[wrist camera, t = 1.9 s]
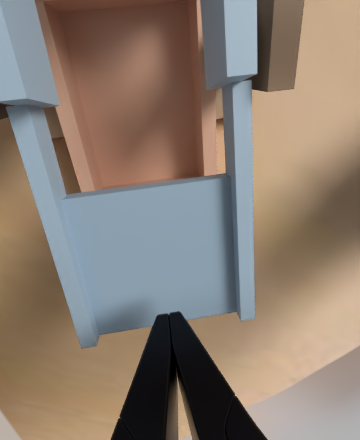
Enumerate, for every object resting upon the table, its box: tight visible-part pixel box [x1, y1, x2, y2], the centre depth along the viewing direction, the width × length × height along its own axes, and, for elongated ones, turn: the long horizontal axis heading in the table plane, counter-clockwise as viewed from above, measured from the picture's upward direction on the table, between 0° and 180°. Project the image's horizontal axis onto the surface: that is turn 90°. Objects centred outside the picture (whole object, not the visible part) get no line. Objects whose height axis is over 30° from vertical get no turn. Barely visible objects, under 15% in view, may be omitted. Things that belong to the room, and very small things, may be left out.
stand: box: [0, 0, 304, 138], centre depth 10 cm, size 6×11×8 cm, turn 95°
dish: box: [34, 0, 217, 192], centre depth 13 cm, size 10×7×3 cm
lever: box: [0, 0, 257, 349], centre depth 7 cm, size 22×7×3 cm, turn 4°
